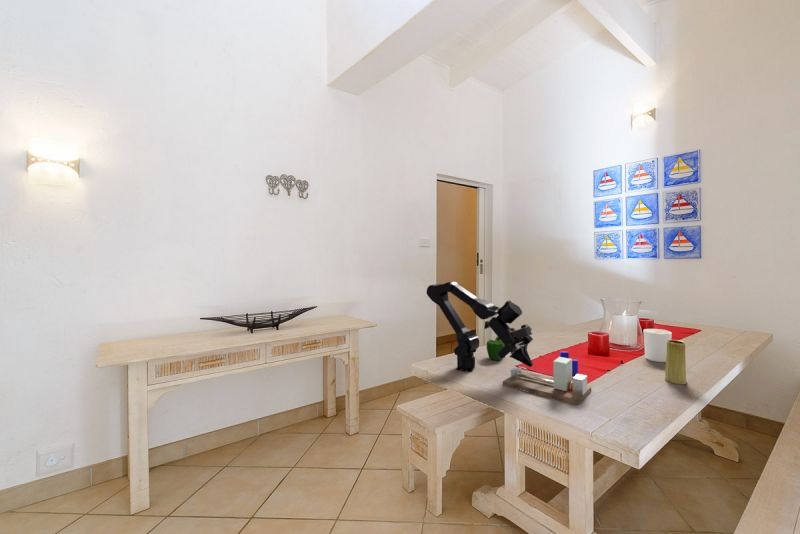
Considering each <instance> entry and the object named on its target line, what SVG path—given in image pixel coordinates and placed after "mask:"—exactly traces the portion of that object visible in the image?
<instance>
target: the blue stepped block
mask: <svg viewBox="0 0 800 534" xmlns="http://www.w3.org/2000/svg"><path fill="white" fill-rule="evenodd" d="M559 357H564V358H569V359H570V353H569V351H559ZM576 374H579V360H578V359H572V375H576Z"/></svg>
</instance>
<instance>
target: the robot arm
mask: <svg viewBox="0 0 800 534" xmlns="http://www.w3.org/2000/svg"><path fill="white" fill-rule="evenodd" d="M449 293H451V294H452V295H453V296H455V297H456V298H458V299H459V300H460V301H462V302H464V303H465V304H466V305H467V306H469V308H471V310H472V312H473V313H474V314H475V315H476V316H477V317H478V318H479V319H480V320H487V321H484V329H485V330H487V329H491V330H492V331H493V333H494V334H495V335H496V337H497V336H498V338H497V340H498V341H500V340H501V341H502V343H503V344H504V345H505V346H504V347H503V348H501V349H500V350H499V351H498V356H499V358H500V359H501V360H503V359H505V358H506V356H507V355H508V354H510V355H509V358H512V359H514V360H516V361H518V362H520V363H522V364H524V365H525V366H527V367H529V368H532V367H533V366H534V364H533V362H532V360H531V359H532V358H531V357H530V355H529V352H528V346H529V344H530V343H531V342H532V341H534V338H532V336H531V335H533V332H532V329H533V328H532V327H530V325H529V324H527V323H525V324H522V325H520V328H518V329H515V328H514V327H510V325H508V324H511V325H512V324H513V322H515V320H517V319H518V318H519V317H520V316H521V315H523V311H522V309H521V307H520V306H518V305H517V304H516V303H515V302H512V301H511V300H507V301H506V302H504V304H503V305H502V306H501V307H500V306H496V305H495V304H494V303H492V302H490V301H489V300H485V299H481V298H479V297H477V296H476V295H474V294H473V293H471V292H470V291H468V290H467V289H466V288H464V287H463V286H461V285H460V284H459V283H458V282H457V281H453V280H452V281H448V282H445V283H437V284H431V285H428V287H427V288H426V295H427V297H428V298H429V299H430V300H431V302H433V303H434V304H436V305H437V306H438V307H439V308H440V310H441V312H442V314H443V315H444V317H445V319H446V320H447V321H448V323H449V325H450V326H451V328H452V329H453V331H454V333H455V335H456V343H457V346H455V348H454V349H453V352H454V356H456V359H457V360H456V363H457V364H456V365H457V367H456V368H455V370H457V371H465V372H473V370H474V369H475V368H476V356H475V355H474V353H476V352H477V349H478V348H479V346H480V339H479V338H480V337H479V336H478V335H477V333H476V331H475V330H474V329H468V328H467V326H466V325H465V323H464V322H463V321H462V319H461V317H460V316H459V314H458V313H457V311H456V310H455V308H454V307H453V305H452V303H451V302H450V300H449ZM488 319H490V320H488Z"/></svg>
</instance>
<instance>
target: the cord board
mask: <svg viewBox="0 0 800 534" xmlns="http://www.w3.org/2000/svg"><path fill="white" fill-rule="evenodd" d="M521 374H525V375H530V376H534V377H539V378H543V379H547V380H552V381H554V377H551V376H550V377H549V376H545V375H541V374H536V373H532V372H528V371H523V370H521ZM504 385H505V386H504ZM502 386H504V387H508V386H509V387H508V388H511V387H513V388H512V389H515V388H517V389H516V390H519V389H521V390H520V391H523V390H525V391H524V392H527V391H528V392H527V393H531V392H533V393H532V394H534V393H536V394H535V395H538V394H540V395H539V396H542V395H543V397H546V396H547V398H550V397H551V398H550V399H553V398H554V400H557V399H558V400H557V401H562V402H566V403H568V404H569V403H570V404H573V405H577V406H578V405H579V404H581V403H582V402H583V400H584V399H585V398H586V397H587V396H588V395H589V394H590V393H591V392H592V386H590V385H587V391H586V392H585V394H584V395H583V396H582V395H578V394H574V393H573V391H569V390H567V391H563V390H559V389H555V388H554V385H553V384H549V383H545V382H540V381H536V380H532V379H528V378H523V377H519V378H518V379H515V378H511V375H510V376H509V377H507V378H505V379H504V380H502ZM589 392H590V393H589Z"/></svg>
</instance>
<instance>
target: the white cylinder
mask: <svg viewBox="0 0 800 534" xmlns="http://www.w3.org/2000/svg"><path fill="white" fill-rule="evenodd" d="M642 332H643V343H644V344H643V345H644V347H643V348H644V358H645V359H646V360H648V361H652V362H657V363H666V353H667V340H672V336H673V335H672V334H673V333H672V332H671V331H669V330H666V329H662V328H661V329H660V328H659V329H658V328H644V329H643V331H642Z"/></svg>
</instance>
